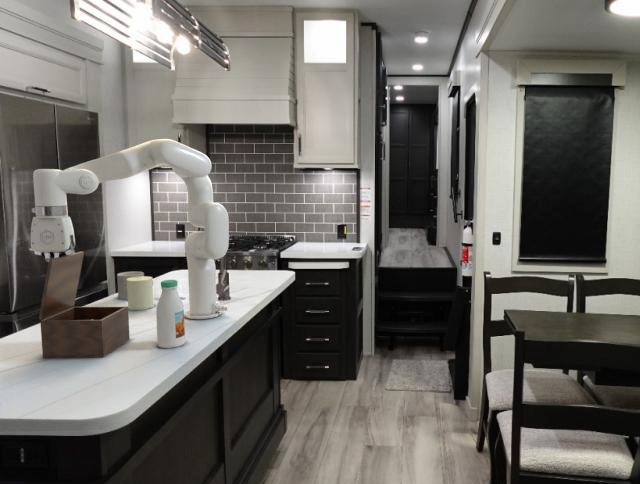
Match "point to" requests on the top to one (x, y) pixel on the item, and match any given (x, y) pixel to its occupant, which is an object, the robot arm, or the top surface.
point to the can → (140, 293)
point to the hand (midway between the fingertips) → (56, 274)
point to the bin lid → (61, 284)
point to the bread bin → (84, 332)
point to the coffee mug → (125, 282)
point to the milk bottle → (170, 316)
